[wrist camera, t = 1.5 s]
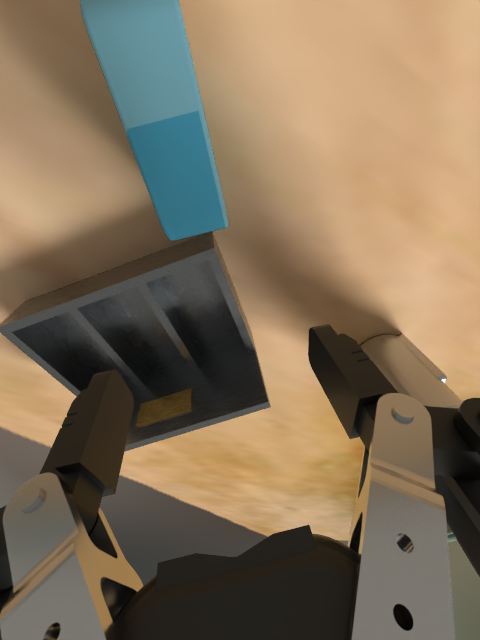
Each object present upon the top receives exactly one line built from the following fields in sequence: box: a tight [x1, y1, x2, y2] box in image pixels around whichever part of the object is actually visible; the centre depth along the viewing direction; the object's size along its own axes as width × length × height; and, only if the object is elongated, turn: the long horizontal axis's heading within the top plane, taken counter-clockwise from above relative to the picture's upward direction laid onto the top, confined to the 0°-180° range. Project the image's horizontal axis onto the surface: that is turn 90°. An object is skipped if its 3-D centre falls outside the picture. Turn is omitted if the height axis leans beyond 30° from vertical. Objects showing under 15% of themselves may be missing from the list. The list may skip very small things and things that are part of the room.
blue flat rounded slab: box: [80, 0, 229, 241], centre depth 19 cm, size 12×4×12 cm, turn 12°
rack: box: [0, 232, 271, 451], centre depth 29 cm, size 25×16×14 cm, turn 108°
